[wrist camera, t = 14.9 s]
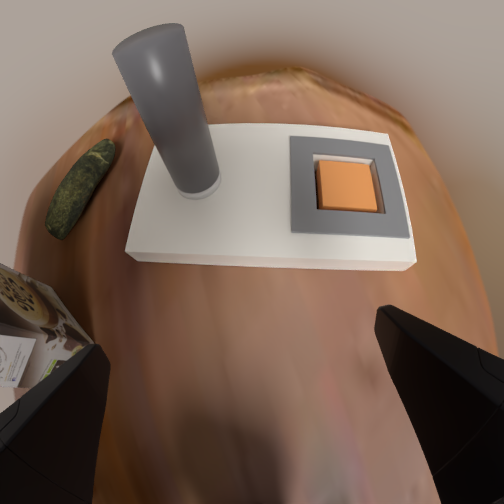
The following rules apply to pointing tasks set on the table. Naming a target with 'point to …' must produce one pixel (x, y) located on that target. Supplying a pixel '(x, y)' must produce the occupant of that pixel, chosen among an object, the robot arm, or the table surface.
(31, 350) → the coffee box
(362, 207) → the button
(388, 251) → the panel
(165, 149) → the grey cylinder
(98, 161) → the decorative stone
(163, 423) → the table surface
